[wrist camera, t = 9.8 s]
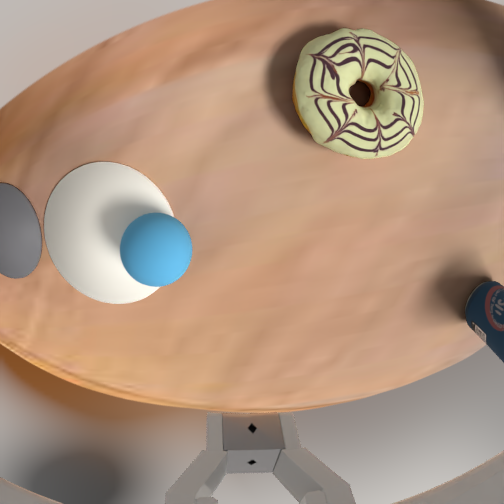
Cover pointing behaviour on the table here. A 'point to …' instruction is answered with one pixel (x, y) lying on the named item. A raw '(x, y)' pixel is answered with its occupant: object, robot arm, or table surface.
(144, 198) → the disc
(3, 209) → the disc
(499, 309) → the soda can
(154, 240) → the ball
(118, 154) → the table surface
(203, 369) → the table surface
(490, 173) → the table surface
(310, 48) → the decorated donut
